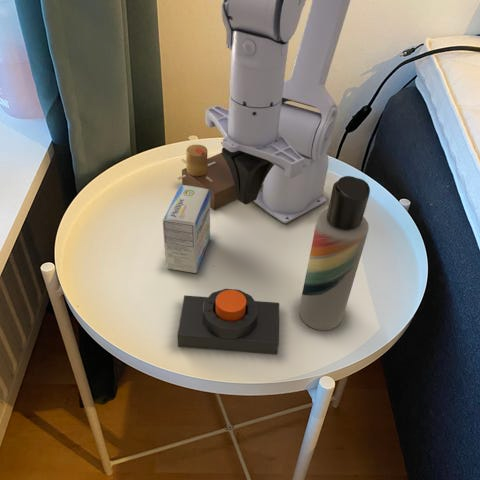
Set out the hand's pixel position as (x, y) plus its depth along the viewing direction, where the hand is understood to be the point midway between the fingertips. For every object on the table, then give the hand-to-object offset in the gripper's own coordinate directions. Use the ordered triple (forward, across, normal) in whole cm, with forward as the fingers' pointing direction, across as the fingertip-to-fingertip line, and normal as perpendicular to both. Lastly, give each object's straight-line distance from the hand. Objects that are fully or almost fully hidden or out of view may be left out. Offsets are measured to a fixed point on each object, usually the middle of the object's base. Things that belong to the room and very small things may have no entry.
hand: (247, 199), depth 69 cm
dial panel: (+10, -16, +8) cm, 21 cm away
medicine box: (+10, -6, -5) cm, 13 cm away
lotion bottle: (+10, +14, +1) cm, 18 cm away
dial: (+7, -17, +6) cm, 20 cm away
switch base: (+10, +8, -10) cm, 17 cm away
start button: (+7, +9, -10) cm, 15 cm away
